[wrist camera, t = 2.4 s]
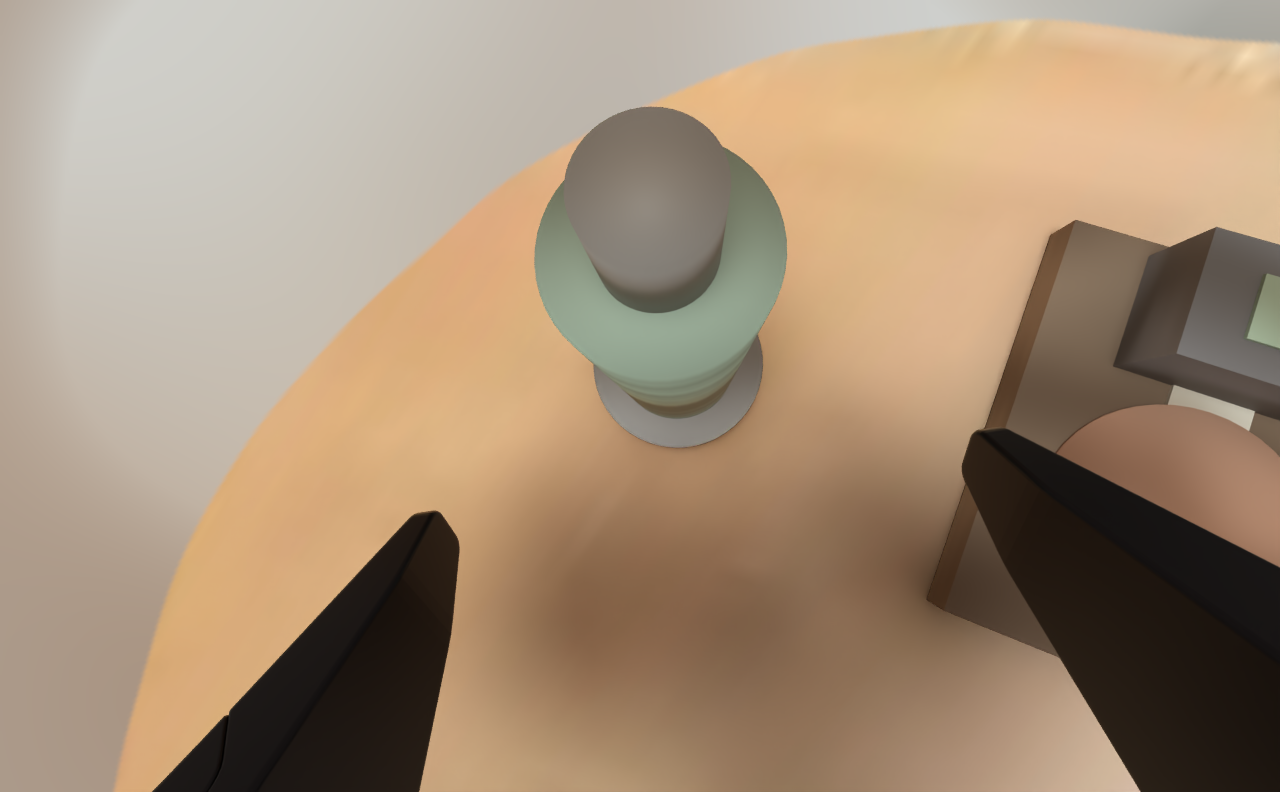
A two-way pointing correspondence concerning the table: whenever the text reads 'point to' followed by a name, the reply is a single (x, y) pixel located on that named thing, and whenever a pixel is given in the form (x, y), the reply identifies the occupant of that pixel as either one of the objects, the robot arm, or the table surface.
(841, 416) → the table surface
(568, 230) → the ring stacking peg
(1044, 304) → the digital kitchen scale
